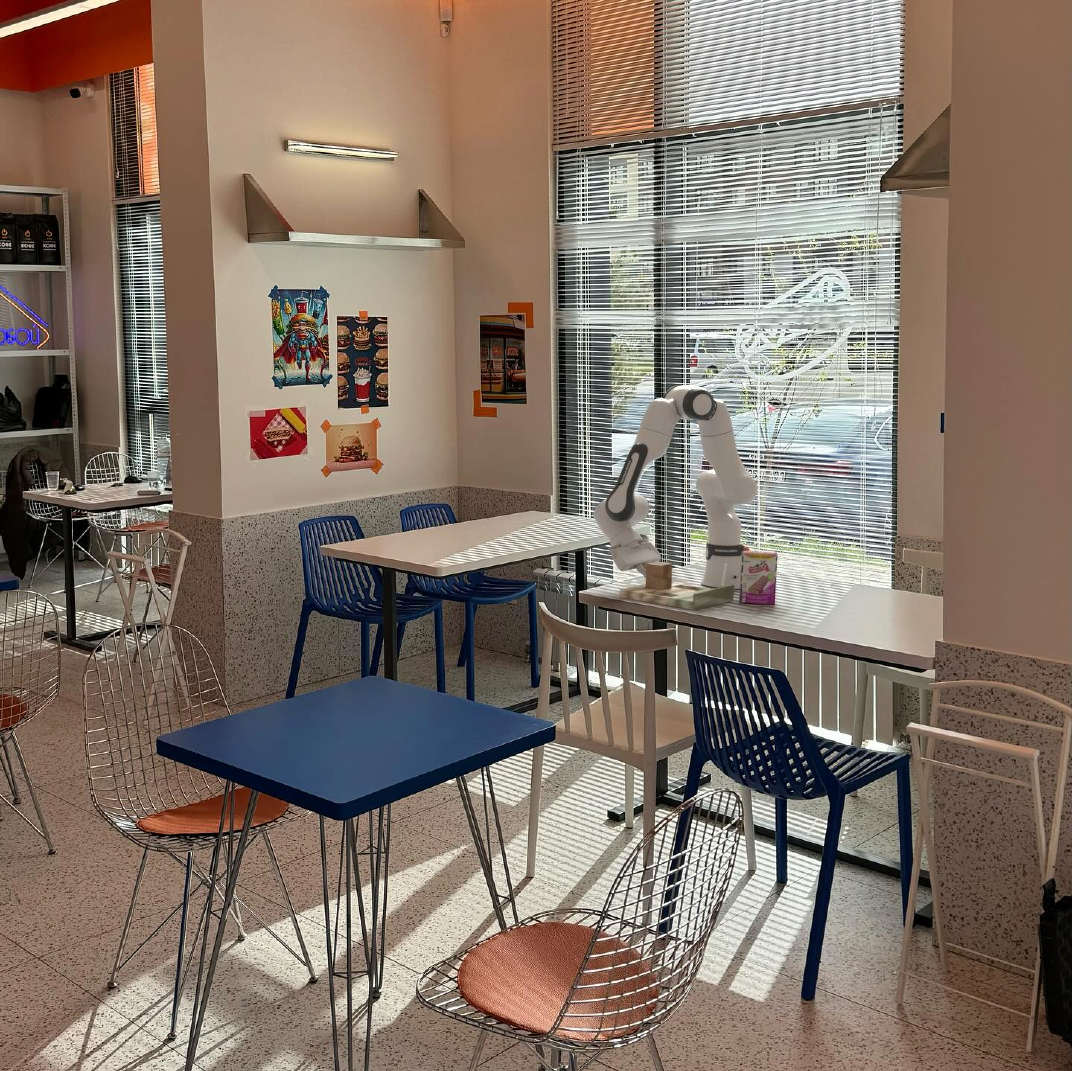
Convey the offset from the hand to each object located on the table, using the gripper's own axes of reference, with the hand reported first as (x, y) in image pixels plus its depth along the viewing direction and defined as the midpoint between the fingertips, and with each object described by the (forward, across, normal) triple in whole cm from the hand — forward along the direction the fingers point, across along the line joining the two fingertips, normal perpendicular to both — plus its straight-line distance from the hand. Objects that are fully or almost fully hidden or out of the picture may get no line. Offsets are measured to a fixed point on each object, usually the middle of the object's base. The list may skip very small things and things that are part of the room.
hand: (649, 576), depth 407 cm
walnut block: (+5, 0, 0) cm, 5 cm away
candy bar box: (+28, +12, -19) cm, 36 cm away
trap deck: (+12, 0, -4) cm, 12 cm away
